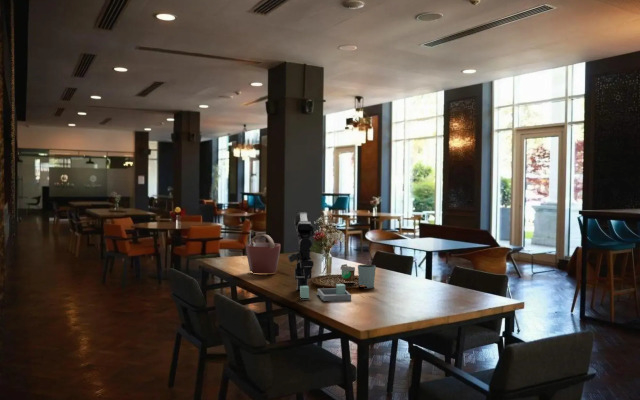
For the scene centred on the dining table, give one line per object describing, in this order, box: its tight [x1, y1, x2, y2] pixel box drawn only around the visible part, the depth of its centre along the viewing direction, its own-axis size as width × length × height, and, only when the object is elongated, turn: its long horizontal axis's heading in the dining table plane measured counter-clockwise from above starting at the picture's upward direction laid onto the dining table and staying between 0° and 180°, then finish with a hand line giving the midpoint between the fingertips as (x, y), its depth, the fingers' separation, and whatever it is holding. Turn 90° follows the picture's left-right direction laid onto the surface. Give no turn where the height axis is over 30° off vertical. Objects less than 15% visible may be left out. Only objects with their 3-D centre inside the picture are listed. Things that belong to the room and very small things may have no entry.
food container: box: [340, 263, 356, 282], centre depth 299 cm, size 12×6×10 cm, turn 21°
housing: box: [317, 283, 352, 302], centre depth 260 cm, size 17×14×6 cm
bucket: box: [245, 234, 281, 273], centre depth 331 cm, size 24×22×25 cm
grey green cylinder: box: [357, 264, 377, 289], centre depth 288 cm, size 10×10×12 cm
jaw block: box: [299, 285, 310, 299], centre depth 259 cm, size 4×4×6 cm
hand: (304, 277), depth 259 cm, fingers open, 9 cm apart
